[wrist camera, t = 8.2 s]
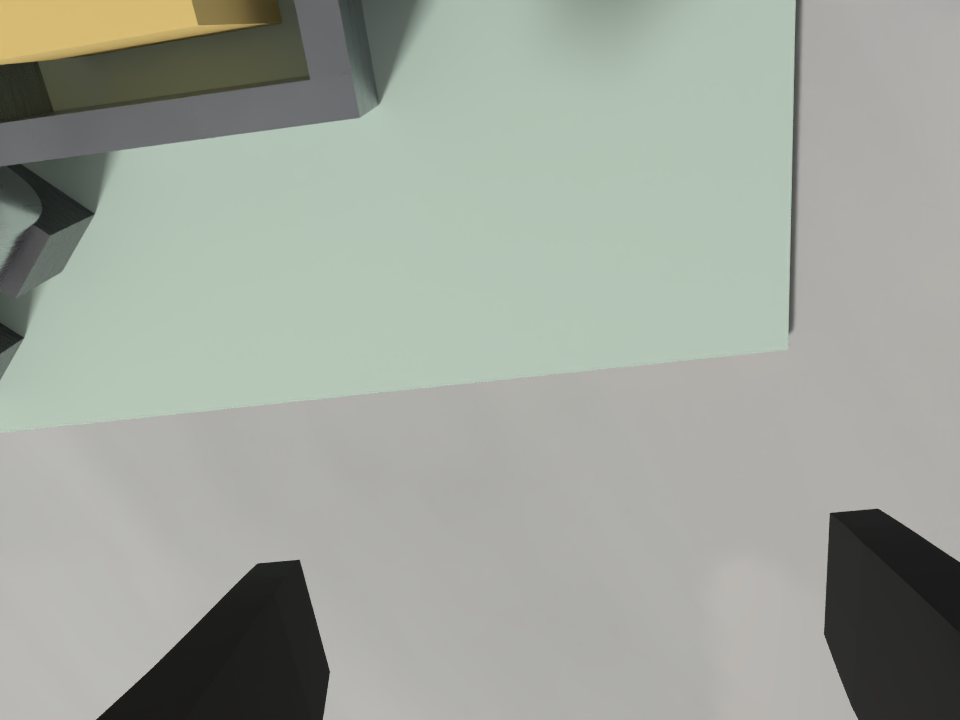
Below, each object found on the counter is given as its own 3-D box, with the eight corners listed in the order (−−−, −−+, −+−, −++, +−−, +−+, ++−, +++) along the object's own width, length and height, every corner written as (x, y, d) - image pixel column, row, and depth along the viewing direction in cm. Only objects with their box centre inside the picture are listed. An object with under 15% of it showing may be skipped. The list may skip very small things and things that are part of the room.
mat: (798, -515, 14) (807, -529, 13) (782, 343, 20) (788, 349, 20) (-359, -291, 15) (-381, -298, 15) (-42, 431, 22) (-51, 438, 21)
